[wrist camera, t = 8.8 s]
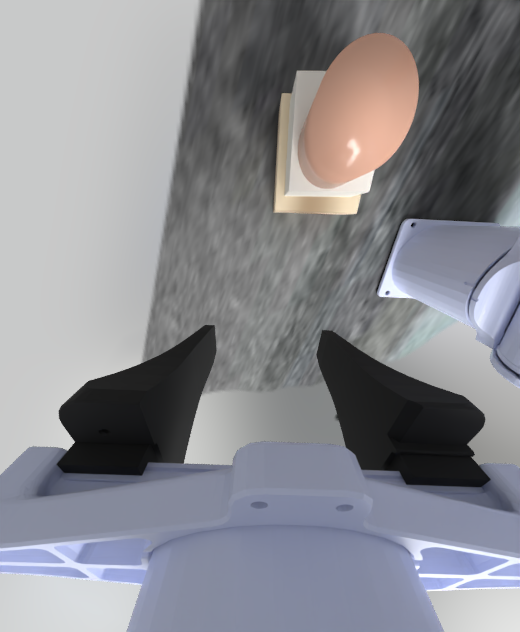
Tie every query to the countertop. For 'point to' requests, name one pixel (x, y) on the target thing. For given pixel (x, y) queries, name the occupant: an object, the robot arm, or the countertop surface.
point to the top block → (298, 112)
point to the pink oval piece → (359, 111)
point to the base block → (302, 202)
